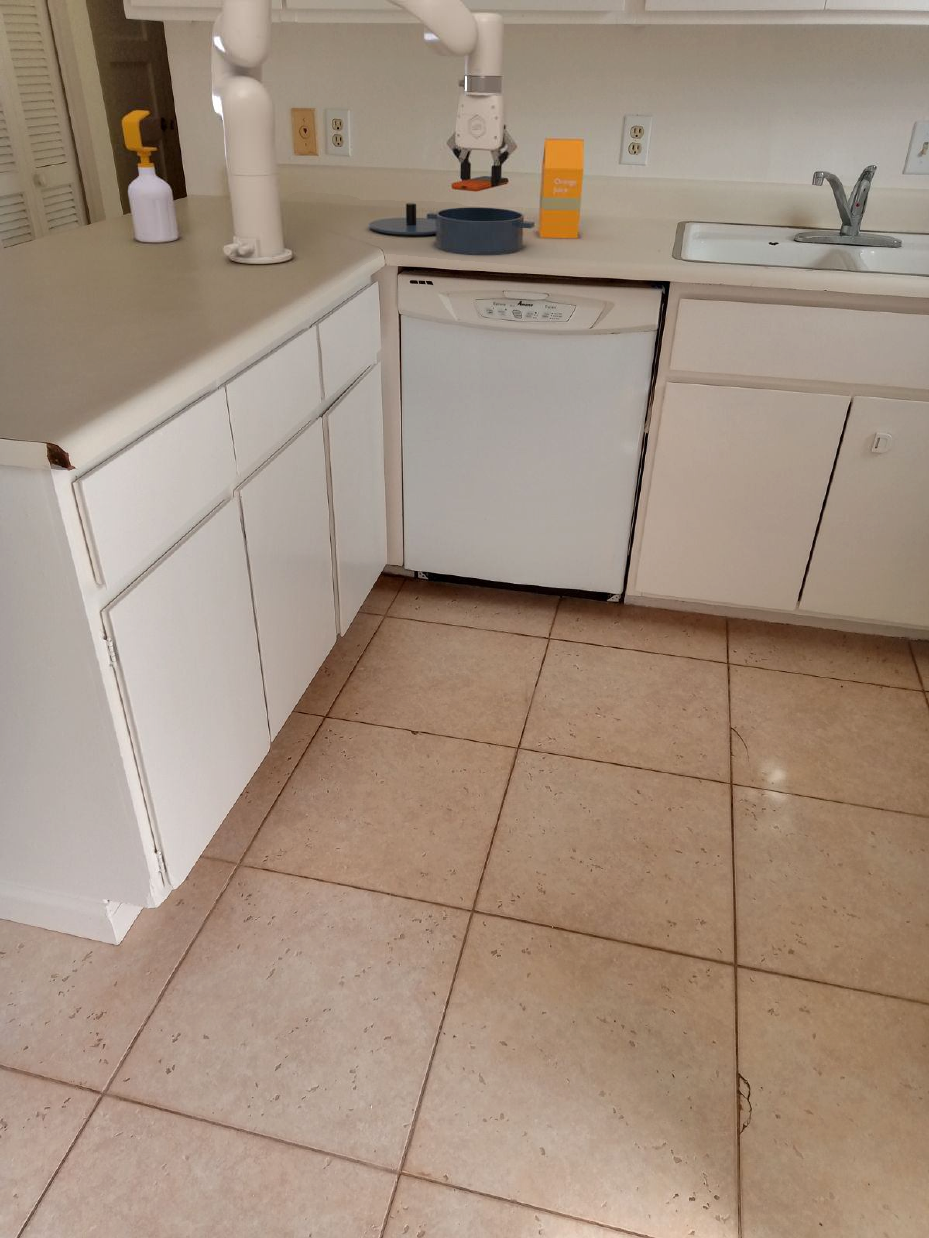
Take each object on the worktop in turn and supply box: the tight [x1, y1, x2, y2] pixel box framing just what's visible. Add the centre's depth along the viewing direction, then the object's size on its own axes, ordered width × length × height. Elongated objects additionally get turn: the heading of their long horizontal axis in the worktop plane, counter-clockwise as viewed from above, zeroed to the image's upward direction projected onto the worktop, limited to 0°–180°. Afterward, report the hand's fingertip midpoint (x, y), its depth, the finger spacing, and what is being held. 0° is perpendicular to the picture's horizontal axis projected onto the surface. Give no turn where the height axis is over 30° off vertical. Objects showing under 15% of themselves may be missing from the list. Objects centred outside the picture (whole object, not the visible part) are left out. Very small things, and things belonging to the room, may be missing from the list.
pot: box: [426, 206, 535, 256], centre depth 194 cm, size 19×24×6 cm
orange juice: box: [537, 138, 584, 239], centre depth 204 cm, size 8×9×20 cm
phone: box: [450, 175, 510, 192], centre depth 189 cm, size 6×1×15 cm
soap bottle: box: [121, 109, 179, 244], centre depth 188 cm, size 9×9×25 cm
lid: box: [368, 202, 436, 237], centre depth 210 cm, size 20×20×6 cm
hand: (480, 184), depth 189 cm, fingers closed on phone, 6 cm apart
